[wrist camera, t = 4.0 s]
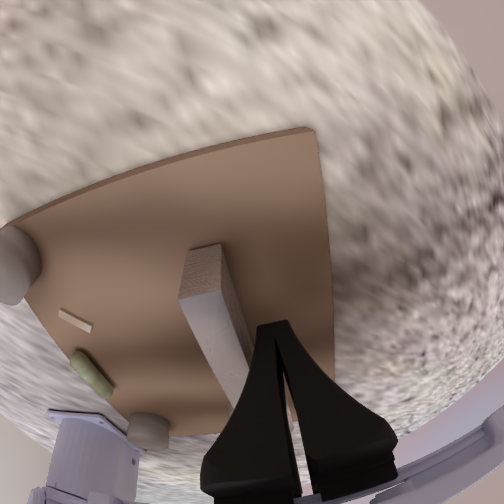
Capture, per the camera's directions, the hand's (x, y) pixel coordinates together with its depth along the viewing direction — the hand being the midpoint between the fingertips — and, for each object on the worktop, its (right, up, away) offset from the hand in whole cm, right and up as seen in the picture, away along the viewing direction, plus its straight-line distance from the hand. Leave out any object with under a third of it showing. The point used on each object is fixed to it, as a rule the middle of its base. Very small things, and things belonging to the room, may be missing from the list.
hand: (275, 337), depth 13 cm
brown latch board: (-5, -1, +4) cm, 6 cm away
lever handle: (-2, -1, +2) cm, 3 cm away
